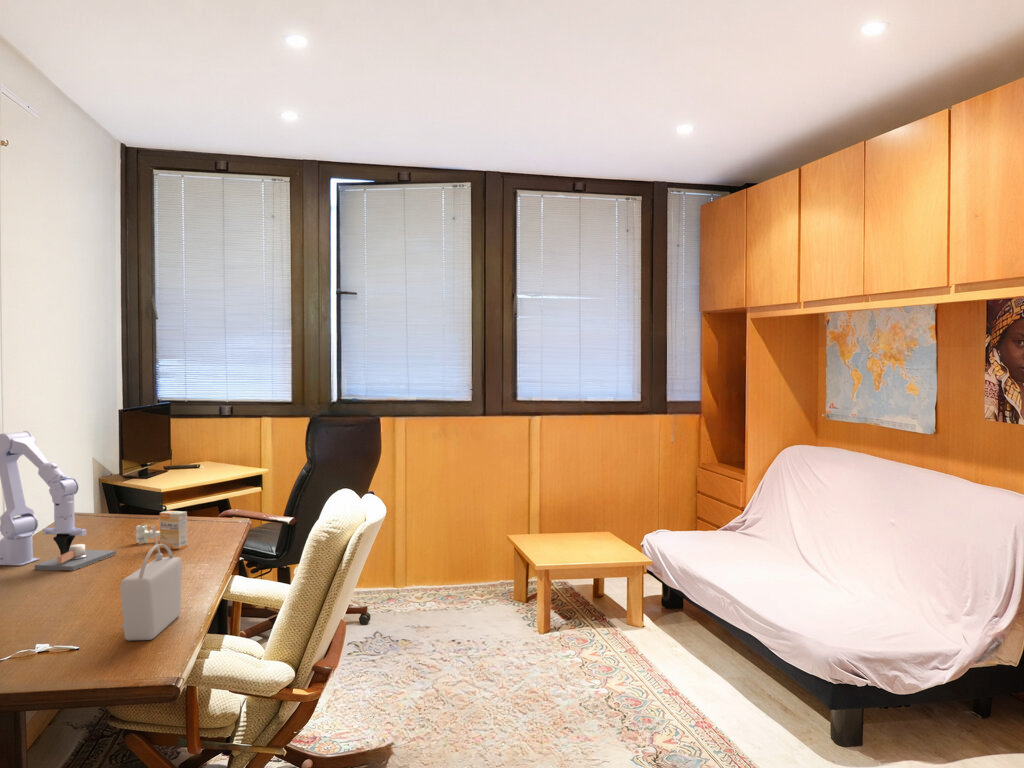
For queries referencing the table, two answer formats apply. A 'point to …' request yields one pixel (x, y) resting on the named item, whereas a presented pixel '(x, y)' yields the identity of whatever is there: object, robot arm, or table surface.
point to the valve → (144, 534)
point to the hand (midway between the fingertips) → (65, 556)
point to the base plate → (75, 561)
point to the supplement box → (173, 529)
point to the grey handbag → (151, 595)
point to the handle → (72, 553)
